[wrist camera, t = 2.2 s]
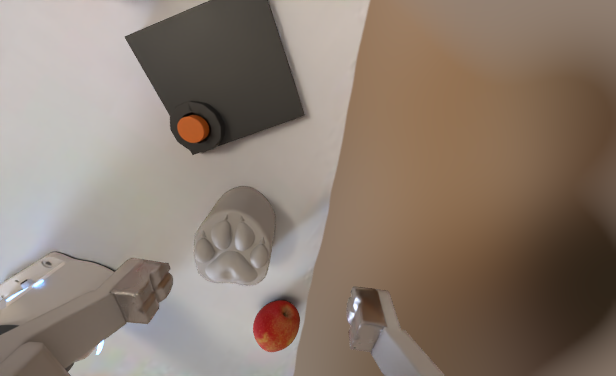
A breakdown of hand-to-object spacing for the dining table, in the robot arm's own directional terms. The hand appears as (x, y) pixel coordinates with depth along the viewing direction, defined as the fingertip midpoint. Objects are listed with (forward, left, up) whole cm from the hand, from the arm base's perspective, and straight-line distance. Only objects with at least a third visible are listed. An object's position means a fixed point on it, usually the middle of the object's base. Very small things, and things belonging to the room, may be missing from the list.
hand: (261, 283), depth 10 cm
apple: (-13, -30, -24) cm, 41 cm away
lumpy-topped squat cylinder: (-11, -9, -24) cm, 28 cm away
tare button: (-9, +7, -21) cm, 24 cm away
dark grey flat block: (-4, +11, -24) cm, 26 cm away
